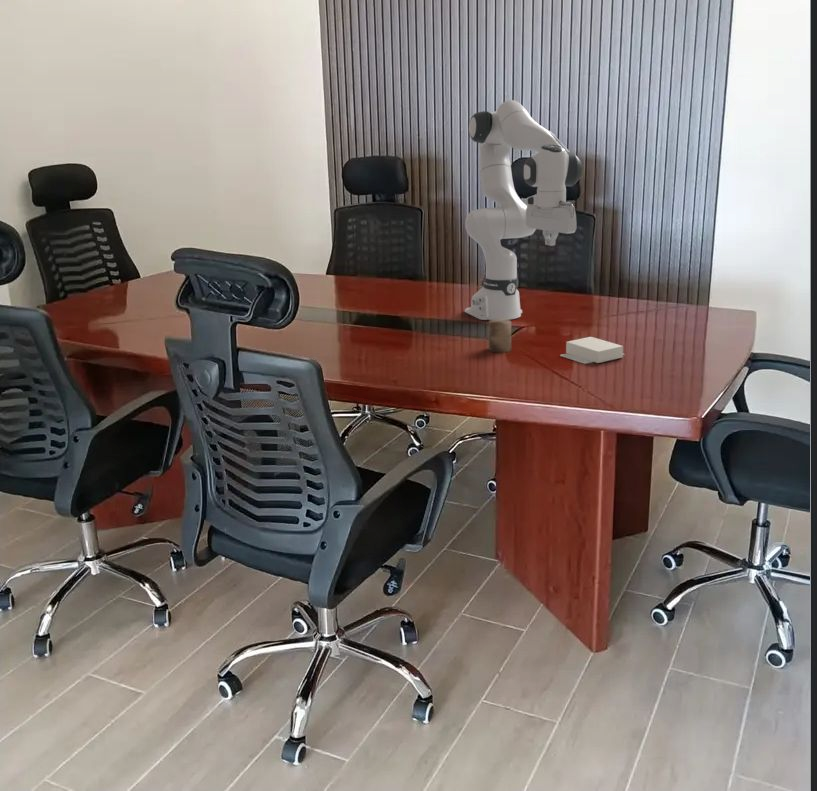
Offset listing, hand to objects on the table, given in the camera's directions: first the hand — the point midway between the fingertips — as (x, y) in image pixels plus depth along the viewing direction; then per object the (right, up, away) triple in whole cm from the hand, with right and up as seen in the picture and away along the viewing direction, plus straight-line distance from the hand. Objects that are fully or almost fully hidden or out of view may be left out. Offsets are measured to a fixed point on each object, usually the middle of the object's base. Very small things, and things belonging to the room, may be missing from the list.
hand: (550, 245), depth 275 cm
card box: (+8, -31, -2) cm, 32 cm away
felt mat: (+12, -35, -7) cm, 37 cm away
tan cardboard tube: (-15, -32, +3) cm, 36 cm away
